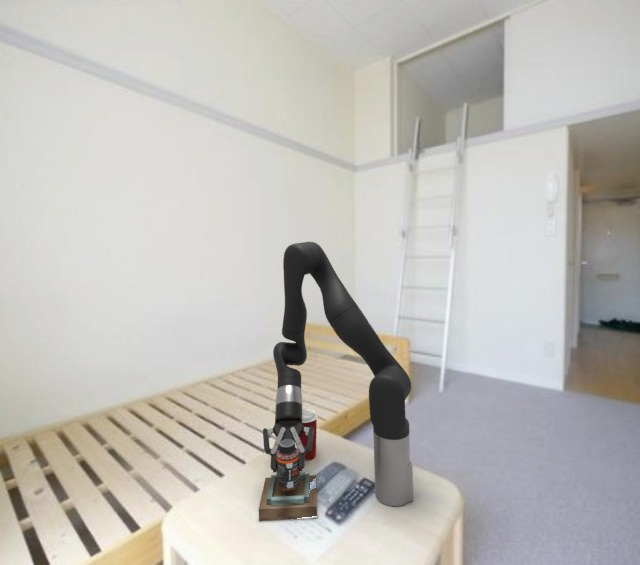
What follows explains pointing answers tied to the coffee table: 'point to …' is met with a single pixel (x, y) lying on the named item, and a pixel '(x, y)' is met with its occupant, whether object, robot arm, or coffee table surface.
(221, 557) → the coffee table surface
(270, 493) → the walnut foundation
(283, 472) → the supplement bottle
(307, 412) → the paper cup
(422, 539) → the coffee table surface
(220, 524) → the coffee table surface
